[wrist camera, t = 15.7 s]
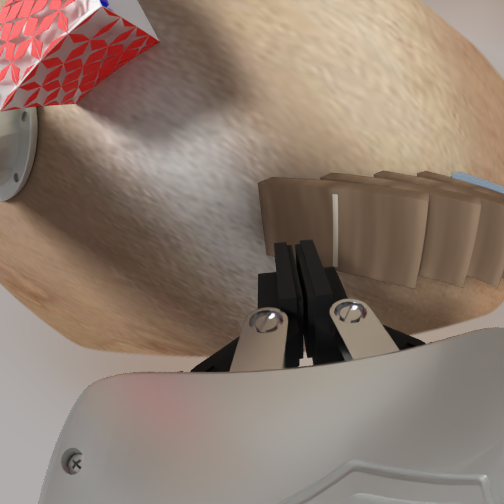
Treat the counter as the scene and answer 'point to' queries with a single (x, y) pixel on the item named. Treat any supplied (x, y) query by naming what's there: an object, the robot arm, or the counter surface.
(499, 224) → the domino
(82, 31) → the red patterned cube
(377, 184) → the domino
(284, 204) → the domino
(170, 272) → the counter surface
